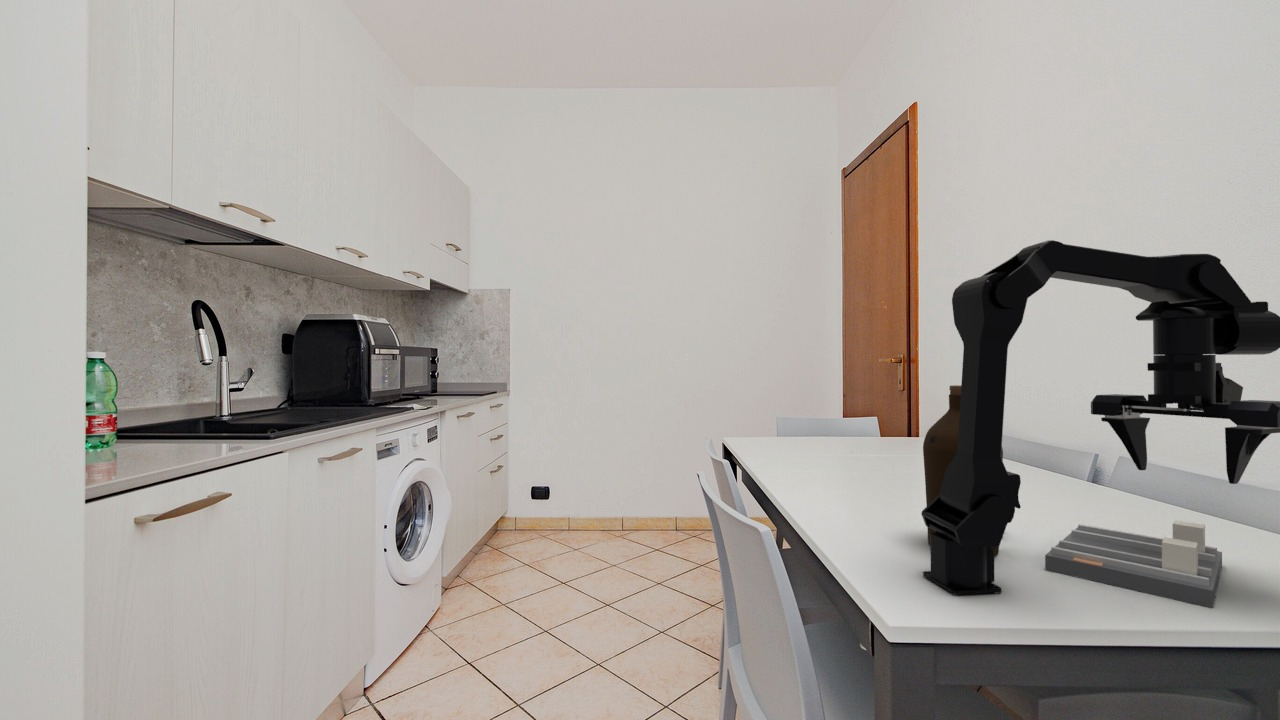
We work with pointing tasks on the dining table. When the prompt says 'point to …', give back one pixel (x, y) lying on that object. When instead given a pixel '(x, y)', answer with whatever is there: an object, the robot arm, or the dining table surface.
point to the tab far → (1190, 533)
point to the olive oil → (942, 449)
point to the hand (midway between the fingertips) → (1185, 476)
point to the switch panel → (1133, 564)
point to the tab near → (1180, 556)
